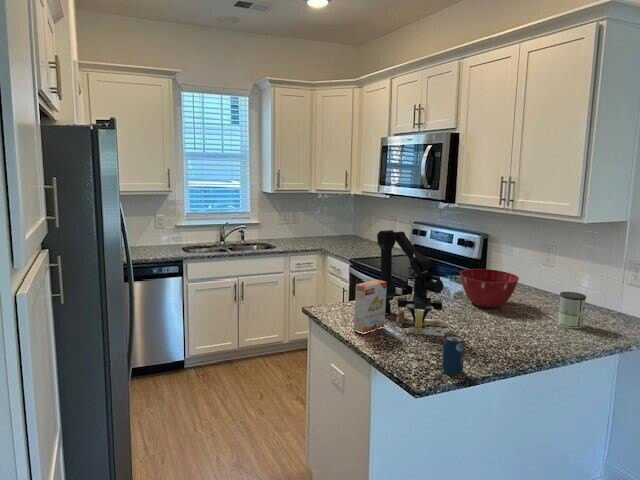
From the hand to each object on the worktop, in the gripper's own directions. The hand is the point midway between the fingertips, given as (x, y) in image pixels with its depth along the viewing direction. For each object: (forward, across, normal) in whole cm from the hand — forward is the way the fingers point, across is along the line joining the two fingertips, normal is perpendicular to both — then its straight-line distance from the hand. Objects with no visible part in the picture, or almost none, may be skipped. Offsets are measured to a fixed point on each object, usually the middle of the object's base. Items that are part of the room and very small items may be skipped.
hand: (418, 322), depth 202 cm
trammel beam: (+2, +1, 0) cm, 2 cm away
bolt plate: (+2, 0, -6) cm, 6 cm away
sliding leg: (+2, 0, 0) cm, 2 cm away
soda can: (+2, +10, -42) cm, 44 cm away
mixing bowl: (+2, +36, +46) cm, 58 cm away
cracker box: (+2, -20, -8) cm, 22 cm away
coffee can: (+2, +68, +20) cm, 71 cm away
